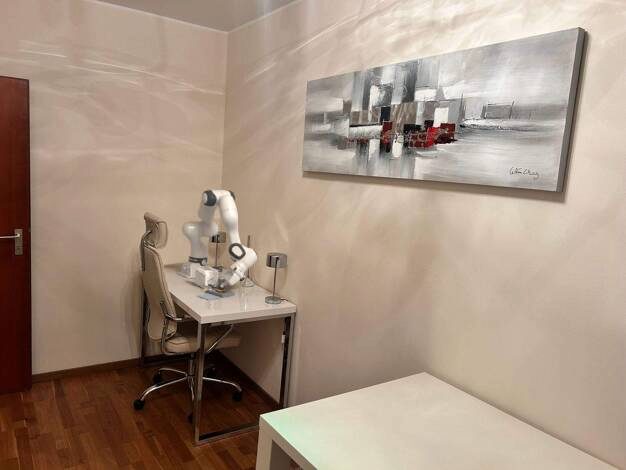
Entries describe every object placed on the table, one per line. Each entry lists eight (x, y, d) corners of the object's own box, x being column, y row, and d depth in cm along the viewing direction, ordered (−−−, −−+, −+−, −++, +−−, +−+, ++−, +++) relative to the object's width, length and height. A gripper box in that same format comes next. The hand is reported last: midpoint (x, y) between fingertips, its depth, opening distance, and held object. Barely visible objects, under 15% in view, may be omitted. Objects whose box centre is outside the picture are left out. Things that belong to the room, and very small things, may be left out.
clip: (212, 288, 299) (212, 287, 299) (210, 288, 297) (210, 287, 297) (205, 285, 303) (205, 284, 303) (202, 286, 301) (202, 285, 301)
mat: (196, 296, 288) (196, 295, 288) (208, 294, 295) (208, 293, 295) (208, 300, 282) (208, 299, 282) (219, 297, 289) (219, 297, 289)
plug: (215, 294, 297) (216, 277, 296) (220, 293, 301) (221, 276, 300) (220, 295, 295) (221, 279, 293) (225, 294, 298) (226, 278, 297)
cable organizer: (218, 288, 312) (220, 270, 310) (203, 289, 305) (205, 271, 304) (208, 283, 323) (209, 266, 322) (193, 284, 317) (194, 267, 315)
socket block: (206, 293, 298) (206, 288, 297) (218, 290, 306) (218, 286, 306) (222, 298, 290) (222, 293, 289) (234, 295, 298) (234, 290, 297)
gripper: (229, 263, 308) (212, 278, 305) (237, 270, 289) (220, 286, 287) (235, 270, 310) (219, 285, 307) (244, 277, 292) (227, 293, 289)
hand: (219, 285), depth 297 cm, fingers closed on plug, 4 cm apart
